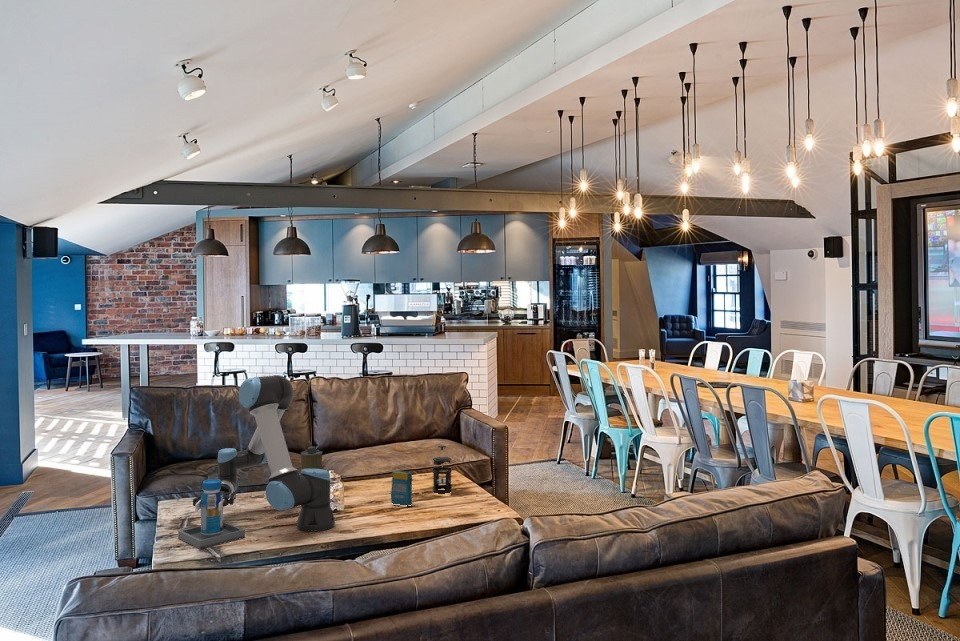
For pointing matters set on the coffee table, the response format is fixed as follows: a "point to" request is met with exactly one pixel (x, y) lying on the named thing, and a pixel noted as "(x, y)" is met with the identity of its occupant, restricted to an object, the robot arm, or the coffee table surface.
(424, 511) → the coffee table surface
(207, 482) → the beverage bottle
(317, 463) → the canister
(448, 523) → the coffee table surface
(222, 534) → the tray
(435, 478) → the french press
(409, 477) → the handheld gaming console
